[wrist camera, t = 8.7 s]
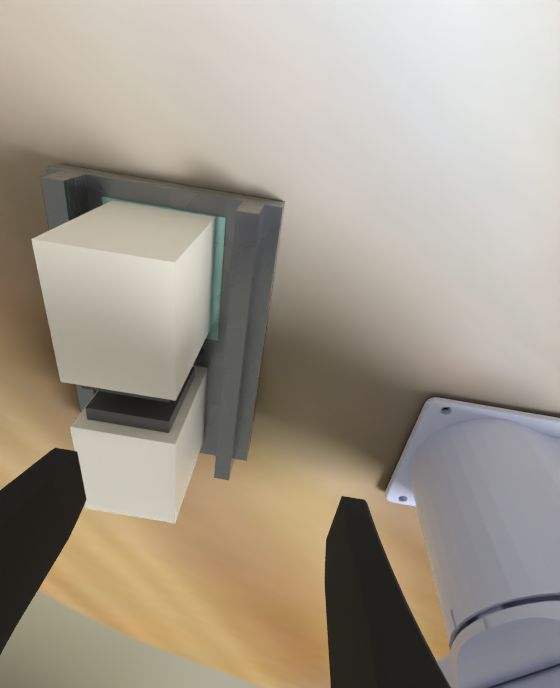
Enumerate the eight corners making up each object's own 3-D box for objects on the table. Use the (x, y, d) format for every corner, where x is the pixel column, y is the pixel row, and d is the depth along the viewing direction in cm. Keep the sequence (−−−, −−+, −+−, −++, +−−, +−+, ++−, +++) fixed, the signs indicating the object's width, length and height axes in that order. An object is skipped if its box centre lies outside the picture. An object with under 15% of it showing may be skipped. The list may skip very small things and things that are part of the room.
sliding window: (284, 201, 16) (279, 217, 13) (249, 447, 23) (242, 482, 21) (60, 163, 16) (20, 173, 13) (97, 421, 23) (75, 454, 21)
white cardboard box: (215, 217, 15) (174, 262, 11) (209, 340, 18) (175, 413, 14) (112, 200, 15) (31, 238, 11) (123, 326, 18) (63, 395, 14)
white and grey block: (131, 428, 22) (85, 508, 17) (125, 343, 19) (67, 414, 14) (203, 440, 22) (175, 523, 17) (208, 357, 19) (175, 433, 14)
